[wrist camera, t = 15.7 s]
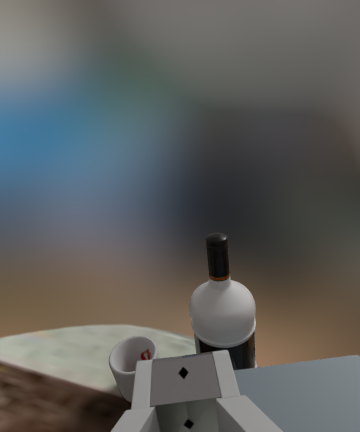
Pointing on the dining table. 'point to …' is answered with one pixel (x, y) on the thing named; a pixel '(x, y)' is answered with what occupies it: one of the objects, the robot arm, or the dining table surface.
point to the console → (307, 394)
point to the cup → (130, 361)
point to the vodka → (223, 310)
